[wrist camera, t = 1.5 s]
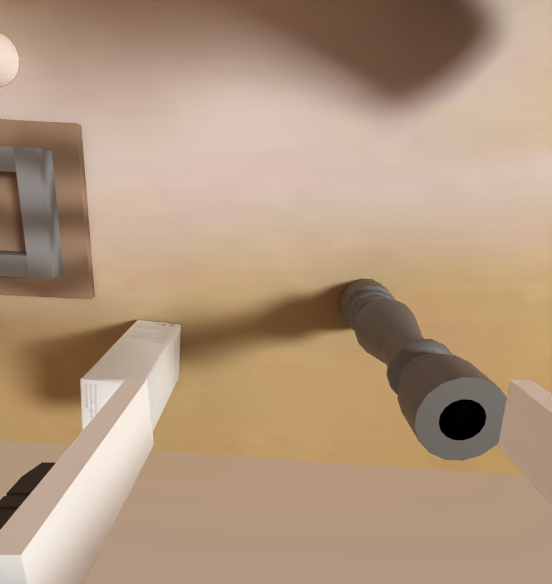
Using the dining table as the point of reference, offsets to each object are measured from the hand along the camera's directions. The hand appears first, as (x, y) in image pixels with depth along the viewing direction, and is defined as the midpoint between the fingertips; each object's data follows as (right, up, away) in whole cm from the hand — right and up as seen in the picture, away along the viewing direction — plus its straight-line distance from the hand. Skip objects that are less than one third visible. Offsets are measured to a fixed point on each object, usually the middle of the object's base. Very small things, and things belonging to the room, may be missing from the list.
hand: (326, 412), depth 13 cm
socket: (-34, +14, +30) cm, 47 cm away
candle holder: (+9, +3, +33) cm, 34 cm away
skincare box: (-17, -3, +34) cm, 39 cm away
